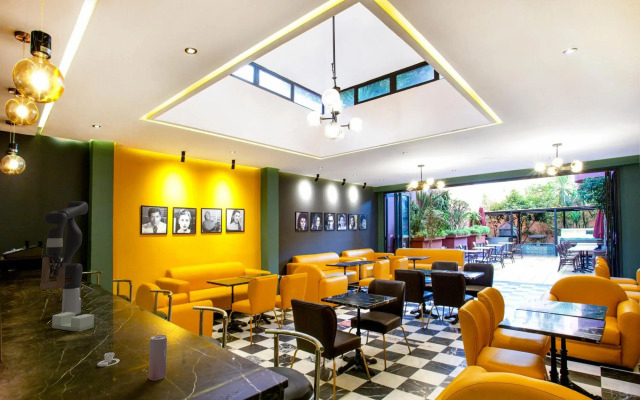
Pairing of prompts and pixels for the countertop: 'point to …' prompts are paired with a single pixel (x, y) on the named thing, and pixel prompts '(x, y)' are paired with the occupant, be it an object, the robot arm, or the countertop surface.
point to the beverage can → (157, 357)
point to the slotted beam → (73, 321)
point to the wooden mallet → (46, 273)
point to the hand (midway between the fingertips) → (52, 275)
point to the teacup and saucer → (108, 359)
